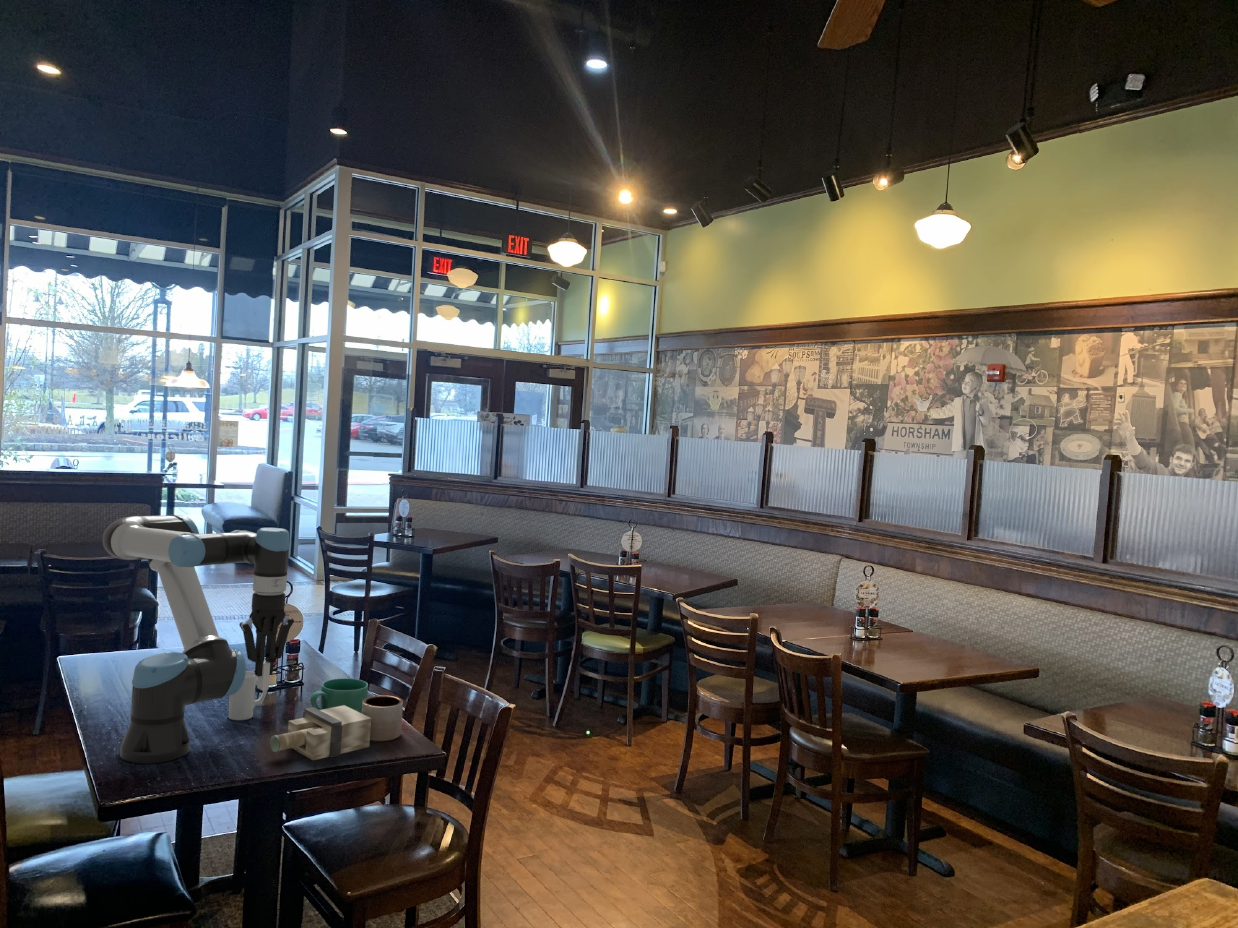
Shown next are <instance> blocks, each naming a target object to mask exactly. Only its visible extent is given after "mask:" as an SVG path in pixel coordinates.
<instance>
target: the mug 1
mask: <svg viewBox="0 0 1238 928" xmlns="http://www.w3.org/2000/svg"><path fill="white" fill-rule="evenodd" d="M257 681H258V677H257V676H256V675H255V671H251V670H246V674H245V678H244V682H243V685H242V686H241V688H240V689H239V690H238V692H236V693H235V694H233V695H229V696H228V715H227V716H228V718H229V719H230V720H233V721H246V720H250V719H251V718H253V717H254V716H253V714H254V708H255V707H256V706H261V705H262V704H263V702H264V700H265V698H266V696H267V693H268V690H262V693H261V696H259V698H258V699H255V697H256V696H255V695H256V687H257Z"/></svg>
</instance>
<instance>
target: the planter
mask: <svg viewBox="0 0 1238 928" xmlns="http://www.w3.org/2000/svg"><path fill="white" fill-rule="evenodd" d="M403 704H404V700H403V699H402V698H400V697H398V696H395V695H394V696H393V695H386V694H380V695H379V694H378V695H372V696H369V697H368V696H367V698H365V699H364V700H363V702H362V714H364V715H366V716H368V717H370V718H371V729H370V742H373V741H374V742H377V743H382V742H383V743H384V741H386V742H390V741H394V740H396V739H397V738H399V737H401V734H402V725H403V709H404V707H403V706H404V705H403Z"/></svg>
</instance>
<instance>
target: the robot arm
mask: <svg viewBox="0 0 1238 928" xmlns="http://www.w3.org/2000/svg"><path fill="white" fill-rule="evenodd" d="M102 546H103V548H104V550H105V552H106V553H108V554H109V555H110V556H111V557H113V558H116V559H119V560H126V561H130V560H131V561H132V560H133V561H135V560H138V561H139V560H147V564H148V565H149V568H150V569H151V571H153V572H157V573H158V576H159V578H160V581H161V585H162V587H163V590H164V593H165V596H166V600H167V602H168V605H169V609H170V612H171V614H172V617H173V619H174V624H175V626H176V630H177V632H178V634H179V638H180V641H181V645H182V646H183V651H182V652H174V651H173V652H172V651H171V652H168V653H167V652H163V653H157V654H154V655H150V656H148V657H147V656H146V657H145V658H143V659H141V660H140V661H138V662H137V664H136V665H135V667H134V669H133V677H132V680H131V684H132V689H131V690H132V691H131V692H132V693H131V706H130V709H131V710H130V720H129V725H128V727H127V731H126V733H125V735H124V737H123V739H122V742H121V744H120V748H119V749H120V751H119V757H120V758H121V759H122V760H124V761H126V762H128V763H129V762H130V763H133V764H135V763H136V764H158V763H164V762H170V761H174V760H176V759H179V758H181V757H184V756H186V755H187V754H188V753H189V752H190V750H191V739H190V735H189V732H188V729H187V725H186V722H185V709H186V706H188V705H193V704H198V703H202V702H208V701H211V700H212V701H213V700H217V699H219V700H221V699H223V698H225V697H229V695H233V694H235V693H236V692H238V690H239V689H240V688H241V686H242V685H243V682H244V678H245V674H246V671H247V669H246V668H247V664H246V659H245V657H244V653H242V651H240V650H238V649H235V648H231V647H230V645H229V642H228V640H227V639H226V638H223V637H220V635H219V632H218V630H217V628H216V625H215V622H214V619H213V616H212V614H211V611H210V607H209V604H208V601H207V599H206V597H205V594H204V591H203V588H202V585H201V582H200V579H199V576H198V574H197V571H196V568H195V567H202V566H214V565H229V564H242V563H247V564H251V565H254V568H253V581H252V582H253V584H252V591H253V593H252V595H251V596H252V597H251V598H252V599H251V613H250V615H249V618H248V619H247V620H245V621H241V622H239V624H238V625H239V628H240V629H241V630H242V632H243V633H242V634H243V639H244V644H245V650H246V657H247V660H249V661H251V662H253V663H255V664H254V672H255V675H256V677H257V678H258V681H257V683H256V687H257V688H256V689H259V690H261V691H263V690H267V691H268V690H269V688H270V687H269V686H270V676H271V675H273V673H274V663H276V661H277V660H278V659H281V658H282V656H283V654H284V649H285V646H286V643H287V639H288V635H289V632H290V629H291V627H292V626H293V624H294V622H295V620H294V619H293V618H290V617H289V616H287V614H286V611H285V607H286V596H287V594H285V592H286V591H287V581H288V566H289V556H290V555H289V554H290V547H291V545H290V532H289V531H288V530H287V529H286V528H279V527H261V528H259V529H257V531H256V532H252V531H250V530H246V529H243V530H240V529H235V530H232V531H230V532H221V533H220V532H219V533H200V532H199V529H198V526H197V525H196V523H195V521H193V520H192V519H191V518H189V516H186V515H181V514H180V515H179V514H178V515H177V514H165V515H132V516H124V517H121V518H119V519H116V520H114V521H113V522H112V523H111V524H109V525H108V526H107V527H106V529H105V530H104V531H103V534H102ZM253 626H254V628H255V635H256V637H254V632H253V630H252V629H253ZM278 628H279V629H278ZM254 638H255V639H254Z"/></svg>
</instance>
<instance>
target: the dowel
mask: <svg viewBox="0 0 1238 928" xmlns="http://www.w3.org/2000/svg"><path fill="white" fill-rule="evenodd" d="M318 728H323V727H322V726H318V727H313V728H308V729H304V730H299V731H294V732H289V733H288V732H286V733H281V734H280V733H279V734H275V735H272V736H271V737H270V740H269V742H270V743H269V746H270V750H271V751H272V752H274V753H276V752H279V751H284V750H287V749H288V750H289V749H292V748H293V747H298V746H302V745H306V737H307V731H309V730H313V729H318Z"/></svg>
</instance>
